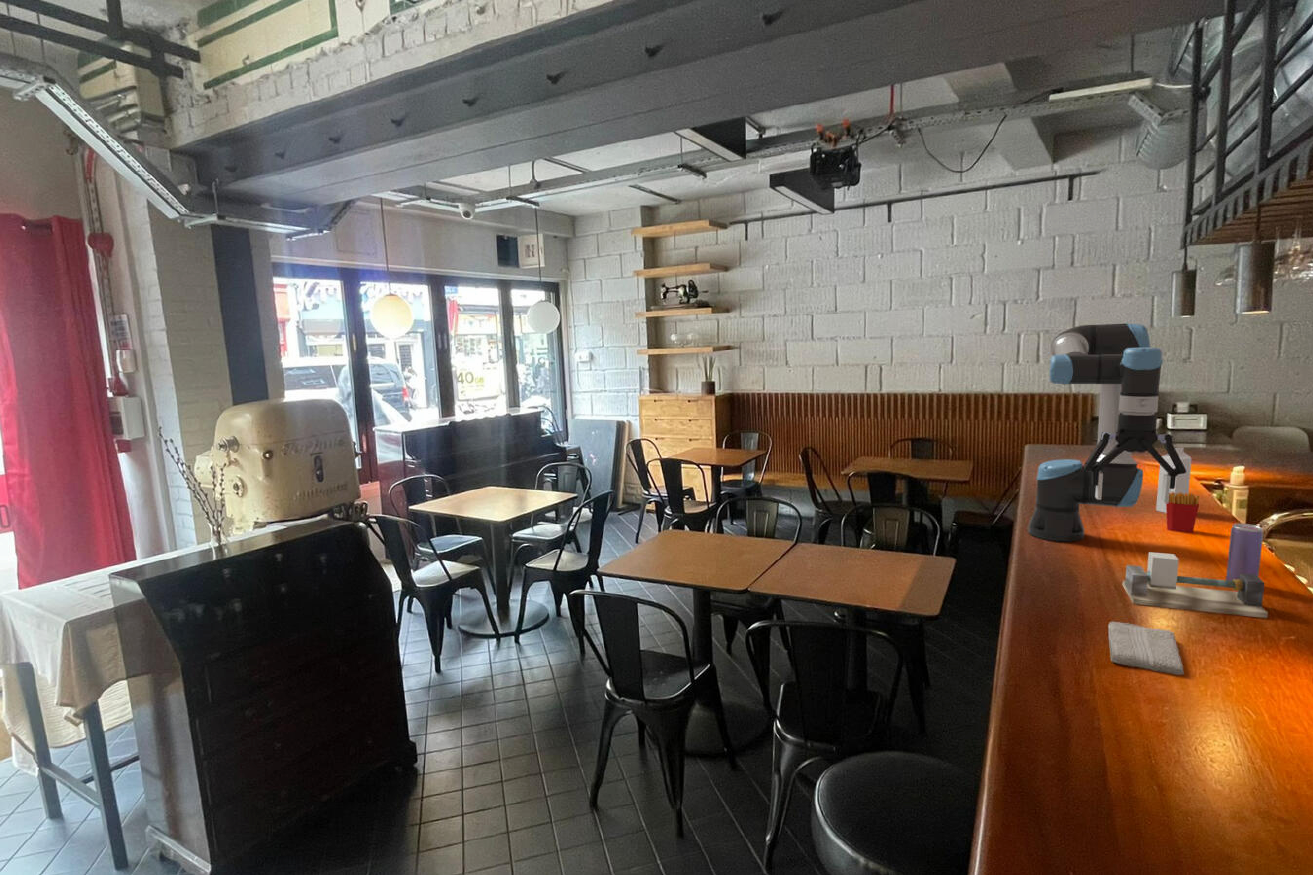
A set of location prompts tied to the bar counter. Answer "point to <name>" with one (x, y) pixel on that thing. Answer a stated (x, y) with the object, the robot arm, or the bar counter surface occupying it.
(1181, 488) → the milk
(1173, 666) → the washcloth
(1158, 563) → the light grey cube
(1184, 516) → the french fries
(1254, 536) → the beverage can
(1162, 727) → the bar counter surface
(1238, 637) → the bar counter surface
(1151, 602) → the grey slider rail
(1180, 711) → the bar counter surface
